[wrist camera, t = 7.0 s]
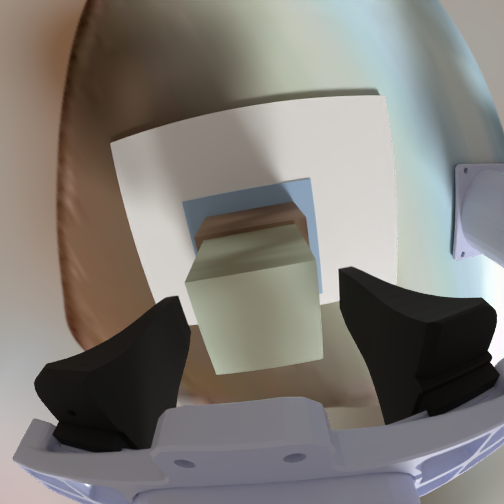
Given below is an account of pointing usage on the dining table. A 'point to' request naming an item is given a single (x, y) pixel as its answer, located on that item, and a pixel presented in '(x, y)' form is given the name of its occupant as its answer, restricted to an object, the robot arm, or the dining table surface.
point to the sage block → (257, 300)
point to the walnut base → (252, 222)
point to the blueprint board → (265, 184)
